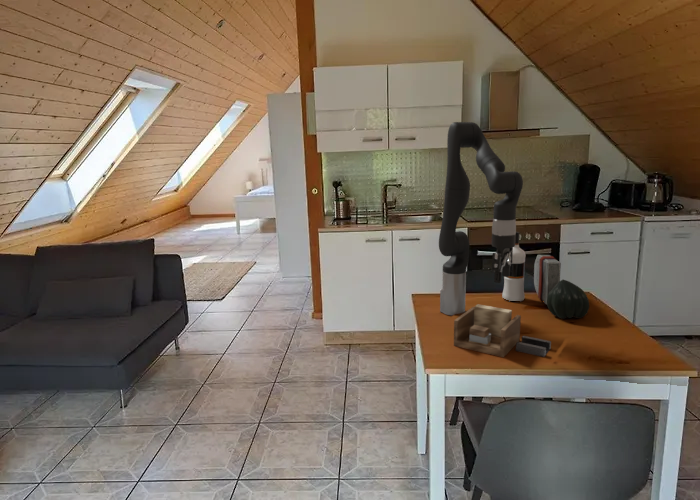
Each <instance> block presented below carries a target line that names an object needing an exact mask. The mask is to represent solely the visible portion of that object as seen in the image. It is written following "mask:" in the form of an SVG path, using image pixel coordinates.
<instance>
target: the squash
mask: <svg viewBox="0 0 700 500" xmlns="http://www.w3.org/2000/svg"><path fill="white" fill-rule="evenodd" d="M546 305H547V308H548V311H549V312H550V313H551V315H553V316H555V317H558V318H559V319H566V318H568V319H572V318H575V319H581V318H584V317H585V316H587V314H588V313H589V309H590V302H589V298H588V296H587V293H586V292H585V291H584V289H582V288H581V287H579V286H578V285H577V284H574V283H573V282H571V281H569V280H566V279H560V282H559V283H558V284H557V285H556V286H555V287H554V288H553V289H552V290H551V291H550V293H549V294H548V297H547V304H546Z"/></svg>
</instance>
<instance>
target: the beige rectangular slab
mask: <svg viewBox="0 0 700 500" xmlns="http://www.w3.org/2000/svg"><path fill="white" fill-rule="evenodd" d="M473 307H474V325H477V326H482V327H486V328H489V334H491V335H492V336H497V337H501V329H502V328H504V327H505V326H506V325H507V324H508V323H509V322H510V321H511V320H512V319H513V318H512V317H513V315H512V312H513V310H512V309H508V308H502V307H495V306H491V305H484V304H479V303H477V304H476V305H474V306H473Z"/></svg>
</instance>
